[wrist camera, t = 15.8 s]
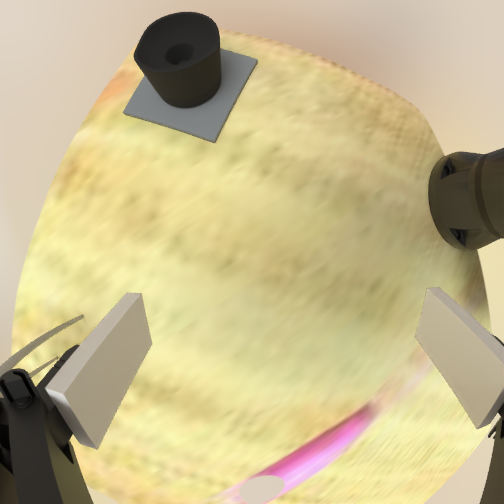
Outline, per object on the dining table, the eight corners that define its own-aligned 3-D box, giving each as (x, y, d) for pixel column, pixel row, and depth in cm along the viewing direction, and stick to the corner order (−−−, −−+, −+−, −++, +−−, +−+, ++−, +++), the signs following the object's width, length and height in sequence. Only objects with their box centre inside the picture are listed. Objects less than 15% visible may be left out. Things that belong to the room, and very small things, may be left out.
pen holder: (239, 84, 33) (237, 39, 23) (180, 125, 33) (160, 88, 23) (198, 47, 33) (187, 2, 23) (144, 84, 33) (119, 44, 23)
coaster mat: (257, 62, 34) (257, 59, 33) (214, 143, 34) (213, 141, 33) (171, 41, 33) (170, 38, 32) (124, 114, 34) (122, 112, 33)
